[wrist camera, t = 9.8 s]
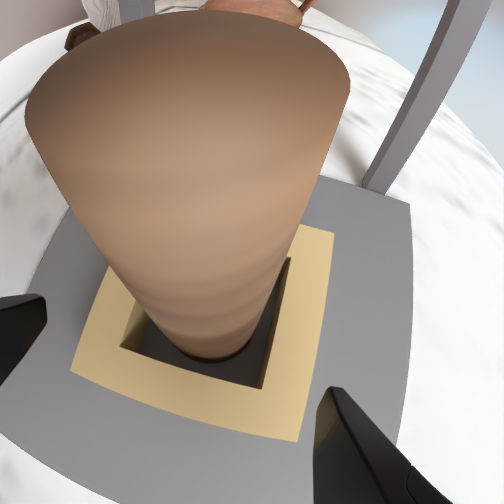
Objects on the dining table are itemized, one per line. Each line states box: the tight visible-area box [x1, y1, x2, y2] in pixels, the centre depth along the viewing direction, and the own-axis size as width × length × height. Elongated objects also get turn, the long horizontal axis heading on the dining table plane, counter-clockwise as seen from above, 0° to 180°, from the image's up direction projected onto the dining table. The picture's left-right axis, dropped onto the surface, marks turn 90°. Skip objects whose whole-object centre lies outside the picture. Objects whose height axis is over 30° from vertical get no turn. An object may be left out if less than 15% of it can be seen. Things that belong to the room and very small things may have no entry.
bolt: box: [64, 22, 102, 52], centre depth 28 cm, size 6×5×15 cm
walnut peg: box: [24, 10, 350, 364], centre depth 10 cm, size 5×5×14 cm
